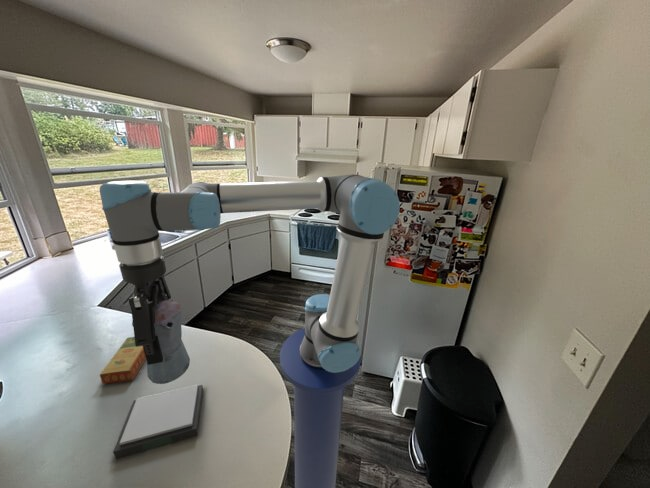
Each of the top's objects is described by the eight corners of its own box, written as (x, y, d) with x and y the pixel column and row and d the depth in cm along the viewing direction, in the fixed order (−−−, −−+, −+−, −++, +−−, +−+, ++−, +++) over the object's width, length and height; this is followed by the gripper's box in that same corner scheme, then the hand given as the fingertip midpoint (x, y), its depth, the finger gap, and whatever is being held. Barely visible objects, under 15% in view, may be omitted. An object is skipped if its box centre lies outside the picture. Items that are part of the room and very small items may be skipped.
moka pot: (165, 400, 54) (145, 324, 47) (131, 368, 62) (110, 298, 55) (205, 369, 62) (193, 301, 55) (170, 344, 69) (156, 281, 62)
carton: (102, 385, 74) (98, 374, 73) (129, 346, 89) (126, 336, 87) (133, 380, 76) (130, 370, 74) (155, 343, 91) (153, 333, 89)
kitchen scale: (203, 390, 74) (201, 382, 73) (197, 436, 62) (195, 427, 61) (135, 406, 69) (132, 398, 67) (115, 460, 57) (111, 450, 56)
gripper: (139, 241, 60) (157, 317, 68) (90, 289, 40) (124, 390, 48) (174, 239, 62) (188, 313, 70) (145, 283, 42) (168, 380, 50)
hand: (162, 344), depth 59 cm, fingers closed on moka pot, 10 cm apart
